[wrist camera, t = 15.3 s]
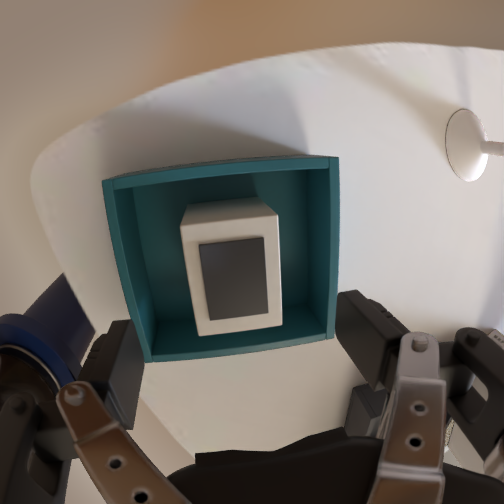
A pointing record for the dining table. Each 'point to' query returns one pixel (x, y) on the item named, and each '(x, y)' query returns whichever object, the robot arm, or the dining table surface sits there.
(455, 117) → the champagne flute
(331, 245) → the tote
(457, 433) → the packaging
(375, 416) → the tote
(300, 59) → the dining table surface
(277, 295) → the white box with panel
